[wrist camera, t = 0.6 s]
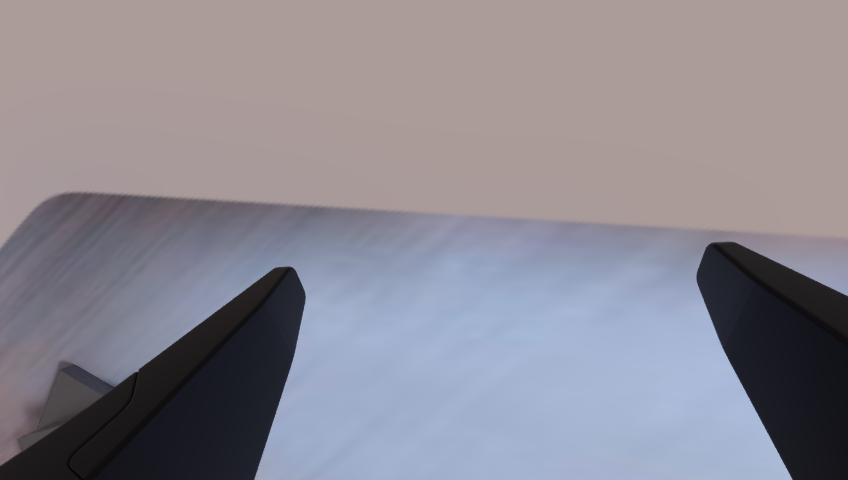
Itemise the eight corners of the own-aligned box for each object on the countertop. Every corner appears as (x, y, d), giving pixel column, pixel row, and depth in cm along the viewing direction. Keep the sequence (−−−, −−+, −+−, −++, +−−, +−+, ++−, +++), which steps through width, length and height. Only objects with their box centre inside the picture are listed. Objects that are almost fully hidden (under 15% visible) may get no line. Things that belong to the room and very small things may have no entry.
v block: (206, 434, 27) (179, 456, 24) (145, 576, 28) (113, 610, 26) (76, 358, 28) (37, 372, 25) (23, 498, 29) (-19, 524, 27)
